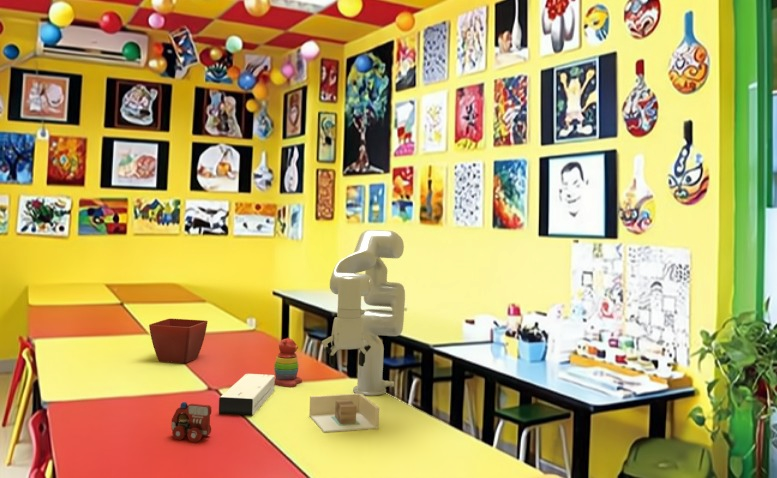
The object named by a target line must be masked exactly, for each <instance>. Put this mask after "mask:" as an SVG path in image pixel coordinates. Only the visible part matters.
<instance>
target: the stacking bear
mask: <svg viewBox="0 0 777 478" xmlns="http://www.w3.org/2000/svg"><path fill="white" fill-rule="evenodd" d="M298 348H299V345H298V344H297V343H296V342H295V341H294V340H293V339H292V338H290V337H286V338H283V339H281V340H280V341H279V344H278V350H279V353H278V354H277V355H276V358H275V362H274V367H273V368H274V374H275V385H277V386H279V387H287V388H296V387H297V384H301V383H303V379H302V378H301V377H299V376H298V372H299V362H298V361H299V359H298V356H297V353H296V352H297V351H298Z"/></svg>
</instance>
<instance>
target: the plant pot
mask: <svg viewBox="0 0 777 478" xmlns="http://www.w3.org/2000/svg"><path fill="white" fill-rule="evenodd" d="M207 327H208V320H202V319H185V318H166V319H162V320H159V321H156V322H154V323H149V325H148V328H149V335H150V338H151V342H152V346H153V349H154V353H155V355H156V358H157V360H158V362H160V363H173V364H187V363H189V362H191V361H193V360H195V359H198V358H199V355H200V352H201V349H202V347H203V343H204V340H205V337H206V332H207Z"/></svg>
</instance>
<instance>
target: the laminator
mask: <svg viewBox="0 0 777 478" xmlns="http://www.w3.org/2000/svg"><path fill="white" fill-rule="evenodd" d="M275 379H276V376H275V375H274V374H262V373H261V374H260V373H245V374H244V375H243V376H242V377H241V378H240V379H238V380H237V381H236V382H235V383H234V384H233V385H232V386H230V388H229V389H227V390H226V391H225V392H224V393H223V394H222V395H220V397H219V398H218V415H234V416H235V415H236V416H248V417H249V416H251V417H253V416H254V415H255V413H257V411H258V410H259V409H260V408H261V407H262V405H264V403H265V402H266V401H267V400H268V398H269V397H270V396H271V395H272V394H273V393H274V391H275V385H276V384H275Z"/></svg>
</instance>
